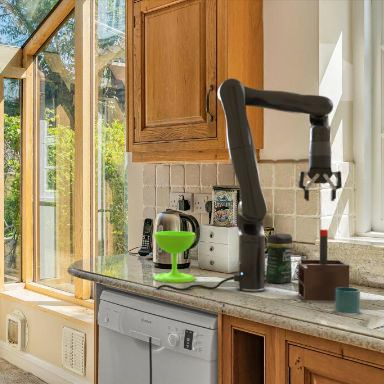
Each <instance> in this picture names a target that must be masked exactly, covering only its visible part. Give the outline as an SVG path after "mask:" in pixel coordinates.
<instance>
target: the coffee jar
mask: <svg viewBox="0 0 384 384" xmlns="http://www.w3.org/2000/svg"><path fill="white" fill-rule="evenodd" d="M266 246H267V258H266V259H267V262H266V270H265V280H266V282H268V283H271V284H286V283H290V282H292V279H293V274H292V247H293V237H292V235H291V234H289V233H282V232H278V233H269V235H267V238H266Z"/></svg>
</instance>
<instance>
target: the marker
mask: <svg viewBox="0 0 384 384" xmlns="http://www.w3.org/2000/svg"><path fill="white" fill-rule="evenodd" d="M328 232H329V230H328V229H319V260H320V264H327V260H328V235H329V233H328Z"/></svg>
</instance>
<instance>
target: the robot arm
mask: <svg viewBox="0 0 384 384" xmlns="http://www.w3.org/2000/svg"><path fill="white" fill-rule="evenodd" d="M217 89H218V90H217V98H218V101H219V102H220V103H221V105H222V109H223V112H224V116H225V121H226V142H227V143H226V144H227V150H228V156H229V161H230V164H231V167H232V170H233V174H234V176H235V177H236V180H237V183H238V187H239V191H240V201H239V202H238V206H237V215H236V216H237V218H236V219H237V235H238V262H237V272H235V273H233V276H231V277H228V278H225V279H223V280H221V281H220V282H218V283H217V284H216V285H215V286H206V285H203V284H190V285H189V286H187V287H181V288H180V287H175V286H172V285H169V284H161V285H159V286H157V287H156V290H157V291H158V290H160V289H162V288H168V289H172V290H174V291H180V292H184V291H188V290H191V289H192V288H203V289H207V290H215V289H218V288H219V287H221V285H222V284H224V283H225V282H229V281H232V280H233V282H235V283H237V289H238V291H241V292H250V293H251V292H263V291H265V290H266V283H267V280H266V234H265V230H264V220H265V218H266V217H267V214H268V207H267V203H266V199H265V196H264V192H263V189H262V185H261V181H260V180H261V179H260V173H259V164H258V157H257V151H256V145H255V141H254V137H253V132H252V129H251V128H252V127H251V126H250V122H249V117H248V114H247V107H256V108H263V109H267V110H273V111H278V112H282V113H289V114H297V115H298V114H305V115H308V121H309V129H310V130H309V145H308V170H307V171H303V170H301V171H299V173H298V185H297V186H298V188H299V189H302V190H303V199H304V200H305V201H306V202H309V201H310V188H311V186H313V184H316V185H318V184H323V185H325V184H326V185H327V186H328V187H329V188H330V189H331V190H330V201H331V202H335V200H336V199H337V190H339V189H342V187H343V184H342V183H343V181H342V171H341V170H338V171H333V170H332V156H333V150H332V148H333V147H332V129H331V126H330V124H329V123H330V122H329V115H330V114H331V113H332V112H333V109H334V103H333V101H332V100H331V99H330V98H329V97H327V96H324V95H318V94H317V95H316V94H302V93H298V92H291V91H285V90H273V89H272V90H271V89H269V90H268V89H258V88H253V87H249V86H245V85H244V84H243V83H242V81H240V80H239V79H237V78H232V77H231V78H227V79H225V80H224V81H222V83H220V85H219V87H218V88H217ZM307 176H308V178H309V180H308V181H307V182H306V184H305V185H304V181H305V178H306V177H307ZM332 177H334V178H335V184H334V182H333V181H332V180H331V178H332ZM148 347H149V349H148V350H149V351H148V352H149V354H148V355H149V384H153V355H152V353H153V352H152V336H148Z"/></svg>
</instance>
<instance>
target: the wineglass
mask: <svg viewBox="0 0 384 384" xmlns="http://www.w3.org/2000/svg"><path fill="white" fill-rule="evenodd" d="M195 237H196V233H195V232H192V231H184V230H183V231H181V230H166V231H163V230H162V231H156V232H154V239H155V242H156V244H157V246H158V247H159V248H160V249H161V250H163V251H164V252H166V253H168V254H171V270H170V271H169V272H163V273H158V274H156V275H155V276H154V277H153V279H154V280H155V281H158V282H163V283H172V284H173V283H175V284H178V283H179V284H180V283H189V282H194V281H195V280H196V279H195V276H193V275H192V274H189V273H183V272H179V270H178V254H182V253H184V252H186V251H187V250H189V249H190V248H191V246H192V245H193V244H194V241H195Z"/></svg>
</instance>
